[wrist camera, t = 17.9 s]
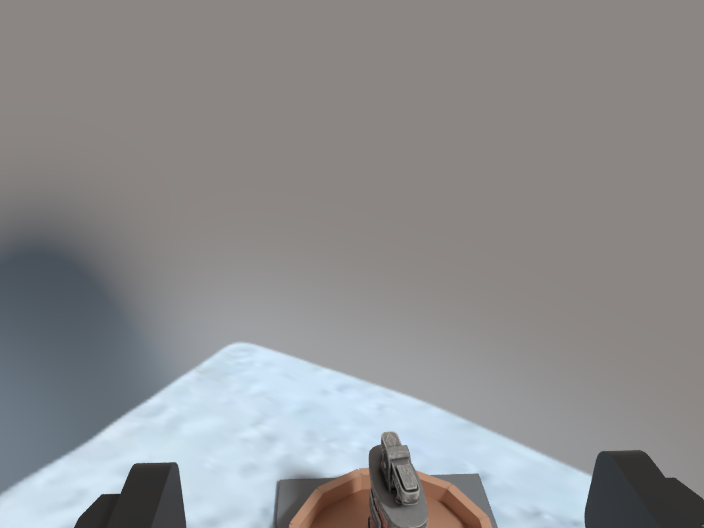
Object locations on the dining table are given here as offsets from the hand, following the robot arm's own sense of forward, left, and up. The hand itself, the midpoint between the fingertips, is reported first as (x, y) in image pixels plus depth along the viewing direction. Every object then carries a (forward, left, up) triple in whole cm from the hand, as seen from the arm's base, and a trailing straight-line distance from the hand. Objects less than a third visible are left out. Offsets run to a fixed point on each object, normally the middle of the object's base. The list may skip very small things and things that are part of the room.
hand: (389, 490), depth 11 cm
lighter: (+4, +23, -29) cm, 37 cm away
